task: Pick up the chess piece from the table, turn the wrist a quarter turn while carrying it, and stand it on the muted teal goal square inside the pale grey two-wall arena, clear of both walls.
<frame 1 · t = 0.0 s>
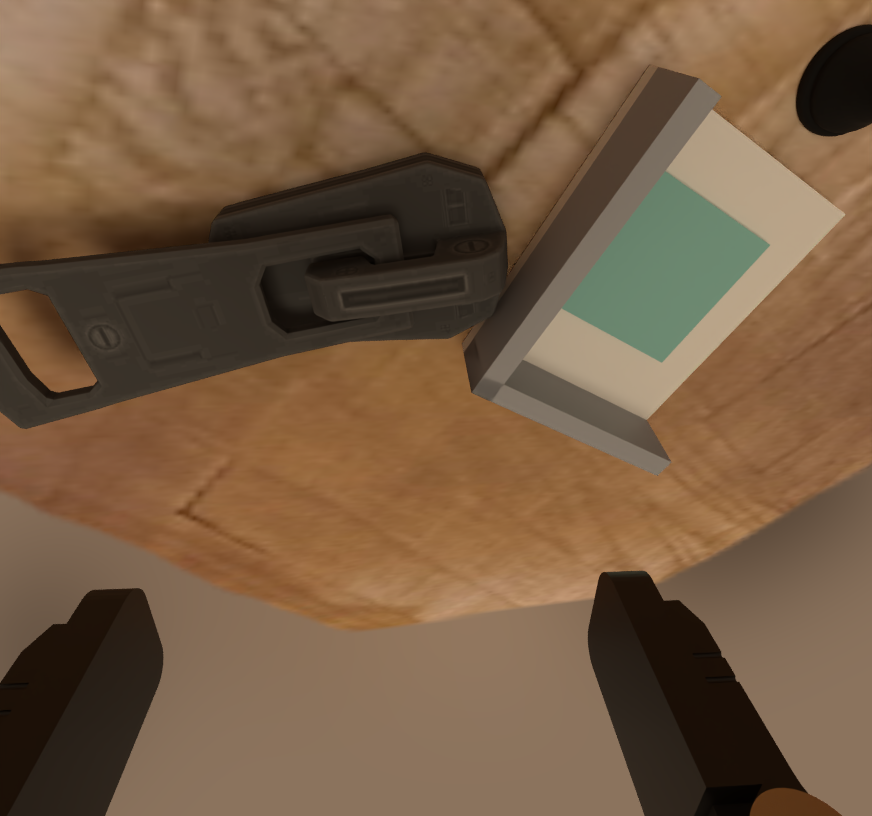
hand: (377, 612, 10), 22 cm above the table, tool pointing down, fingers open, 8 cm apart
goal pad: (656, 272, 30), resting on arena
chess piece: (842, 82, 26), on the table
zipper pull: (264, 266, 29), on the table
arena: (637, 279, 31), on the table
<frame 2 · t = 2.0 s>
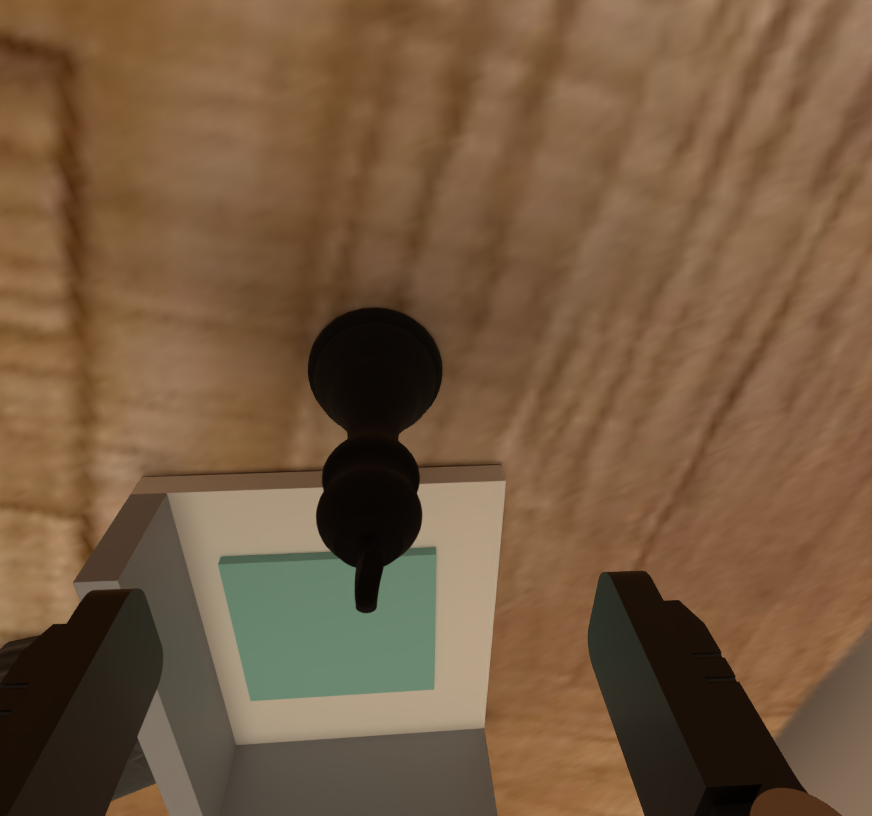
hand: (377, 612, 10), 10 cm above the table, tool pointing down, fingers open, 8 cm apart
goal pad: (337, 625, 23), resting on arena
chess piece: (376, 367, 19), on the table
arena: (340, 622, 24), on the table
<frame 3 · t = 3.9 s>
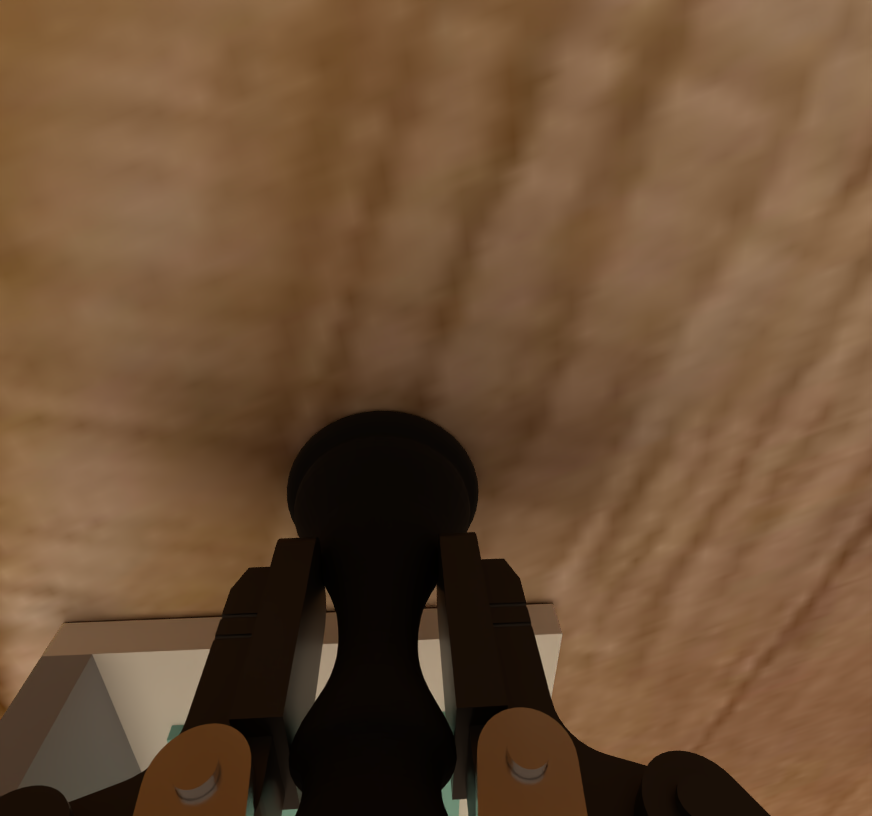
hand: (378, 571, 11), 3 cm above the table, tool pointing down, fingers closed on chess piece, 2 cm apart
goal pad: (330, 796, 17), resting on arena
chess piece: (384, 485, 13), on the table, touching gripper
arena: (336, 780, 19), on the table
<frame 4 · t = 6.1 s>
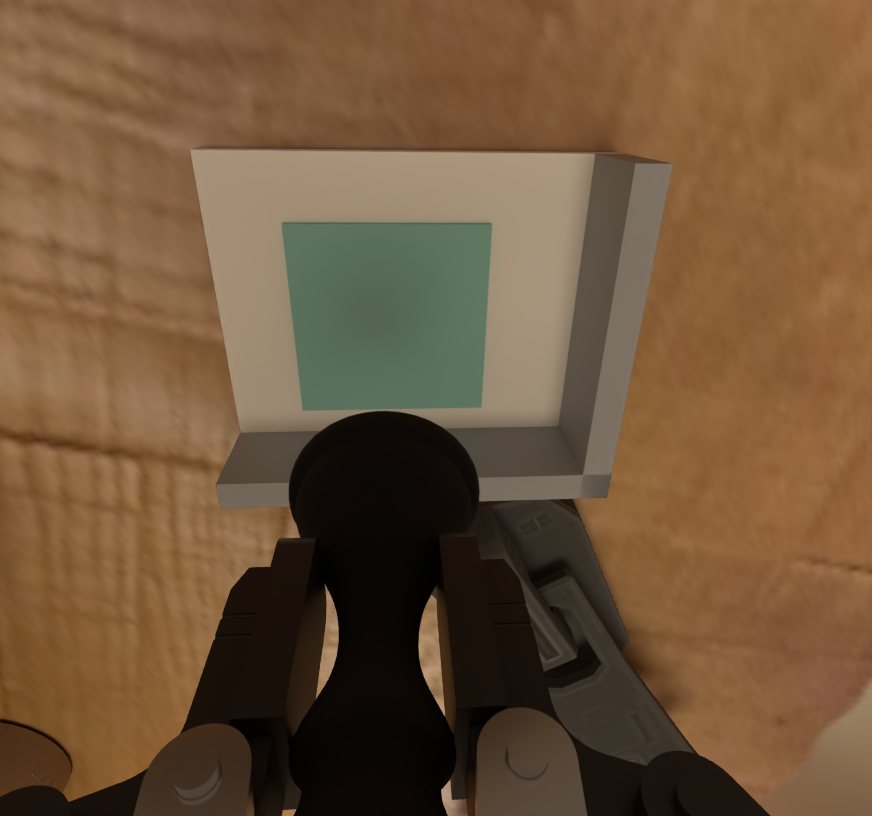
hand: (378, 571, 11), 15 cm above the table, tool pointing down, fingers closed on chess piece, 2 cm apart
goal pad: (390, 321, 24), resting on arena
chess piece: (385, 485, 13), point 13 cm above the table, touching gripper
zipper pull: (561, 621, 35), on the table
arena: (413, 313, 24), on the table
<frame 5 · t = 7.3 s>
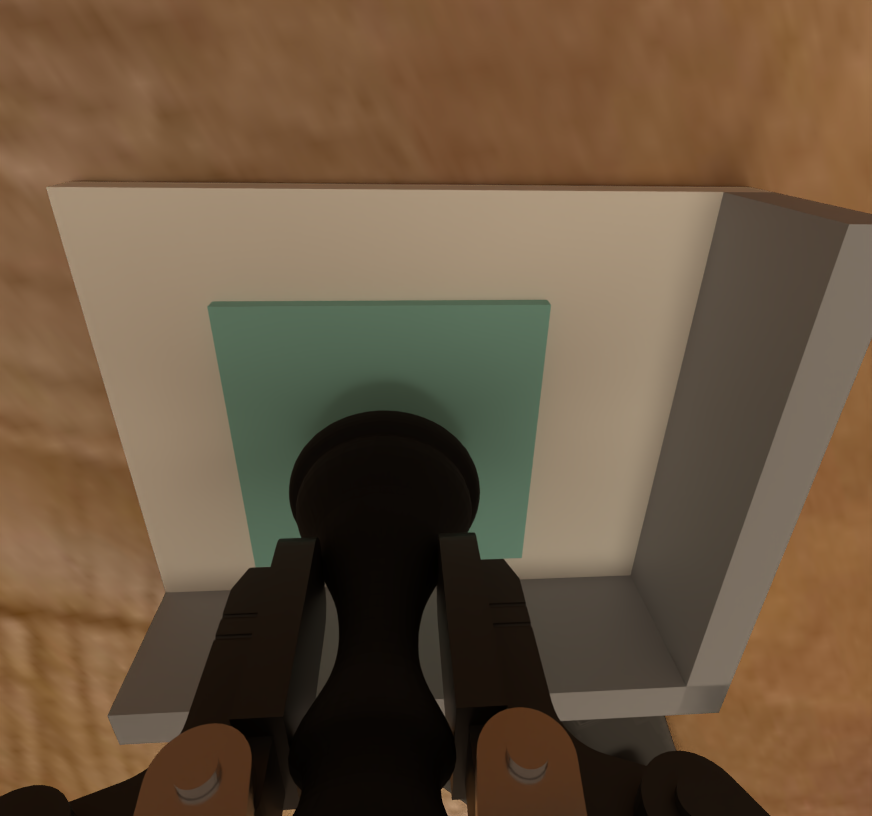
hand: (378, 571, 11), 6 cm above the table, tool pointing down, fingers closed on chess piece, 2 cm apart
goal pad: (387, 442, 15), resting on arena
chess piece: (386, 484, 13), point 3 cm above the table, touching gripper
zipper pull: (609, 789, 27), on the table
arena: (422, 423, 16), on the table
when the fingers open (4 cm above the table, at t = 8.2 s): chess piece stays where it is, resting on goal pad.
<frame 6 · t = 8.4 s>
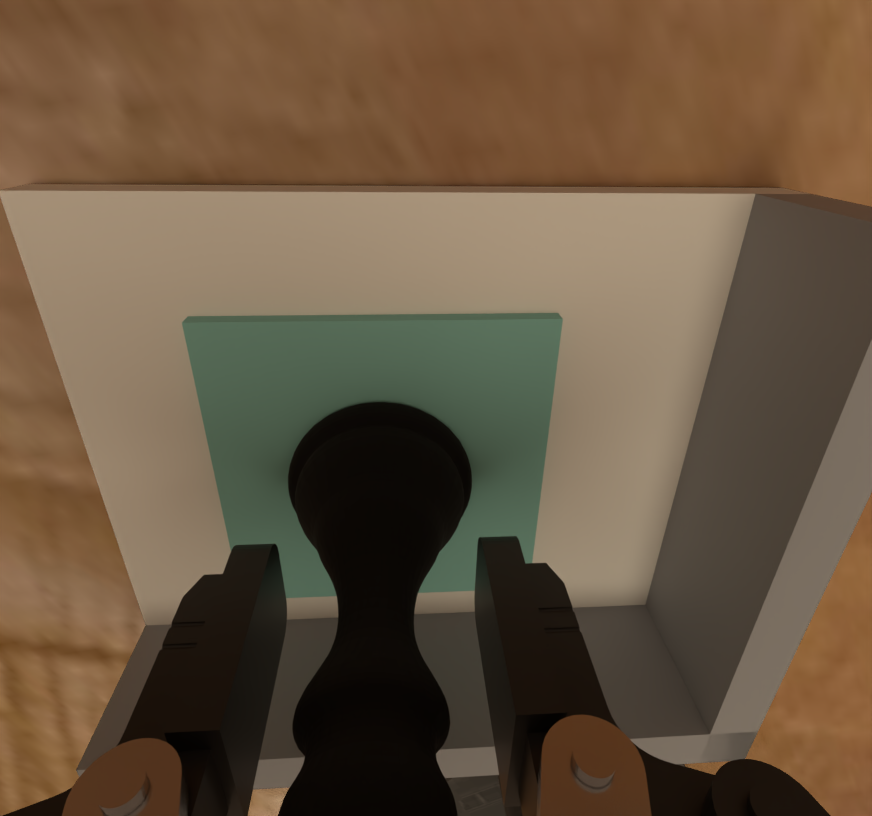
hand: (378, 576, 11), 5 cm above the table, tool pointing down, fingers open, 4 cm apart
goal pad: (382, 467, 14), resting on arena
chess piece: (381, 474, 14), point 1 cm above the table, touching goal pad
arena: (421, 445, 15), on the table
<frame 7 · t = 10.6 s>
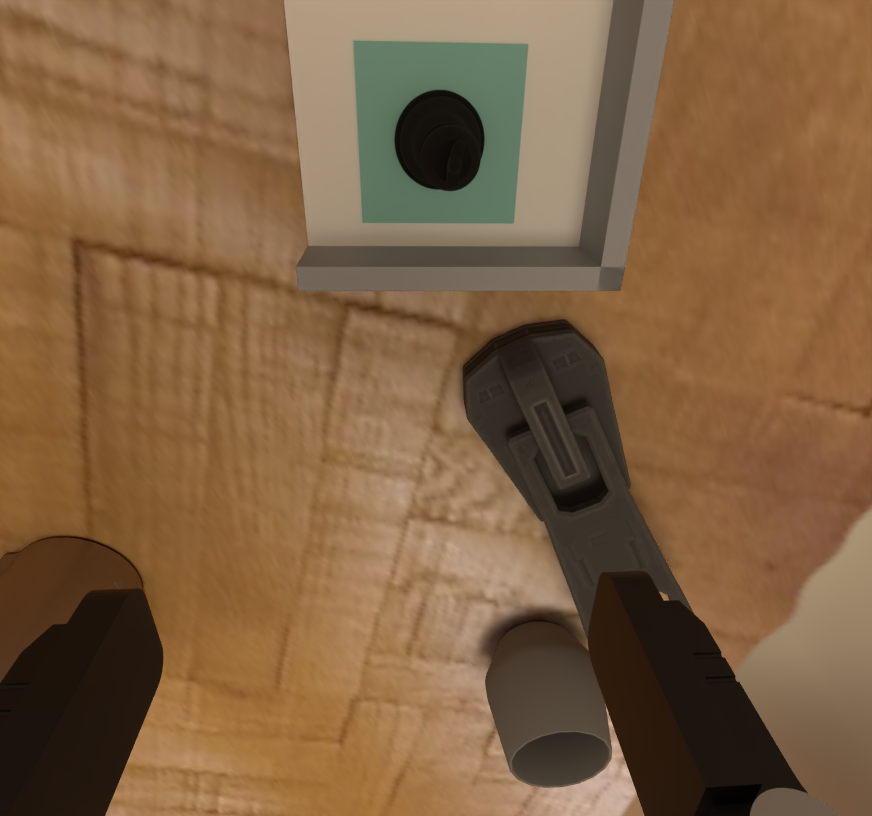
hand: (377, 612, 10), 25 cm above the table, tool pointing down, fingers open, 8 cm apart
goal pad: (439, 138, 28), resting on arena
chess piece: (439, 140, 28), point 1 cm above the table, touching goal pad
cup: (532, 639, 49), on the table
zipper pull: (571, 473, 40), on the table
arena: (457, 137, 29), on the table
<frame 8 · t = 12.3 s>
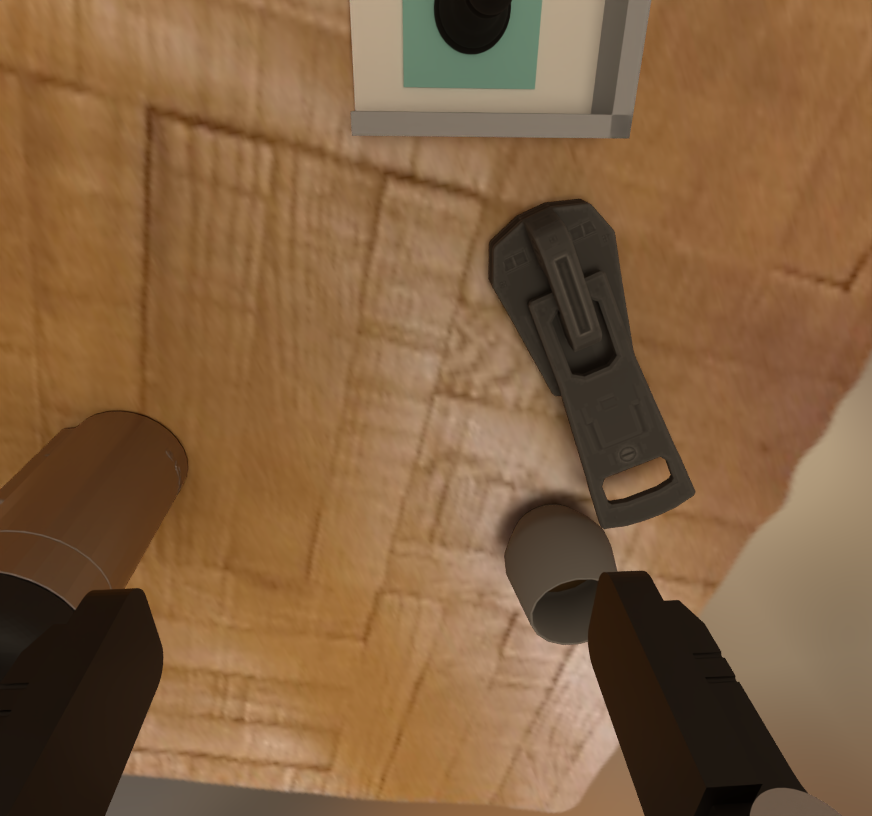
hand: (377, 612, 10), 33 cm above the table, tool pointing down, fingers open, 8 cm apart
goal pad: (471, 8, 32), resting on arena
chess piece: (471, 9, 32), point 1 cm above the table, touching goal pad
cup: (546, 527, 53), on the table
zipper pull: (581, 356, 45), on the table
arena: (486, 11, 33), on the table
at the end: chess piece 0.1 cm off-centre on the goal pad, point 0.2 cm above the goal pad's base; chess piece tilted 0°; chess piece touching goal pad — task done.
